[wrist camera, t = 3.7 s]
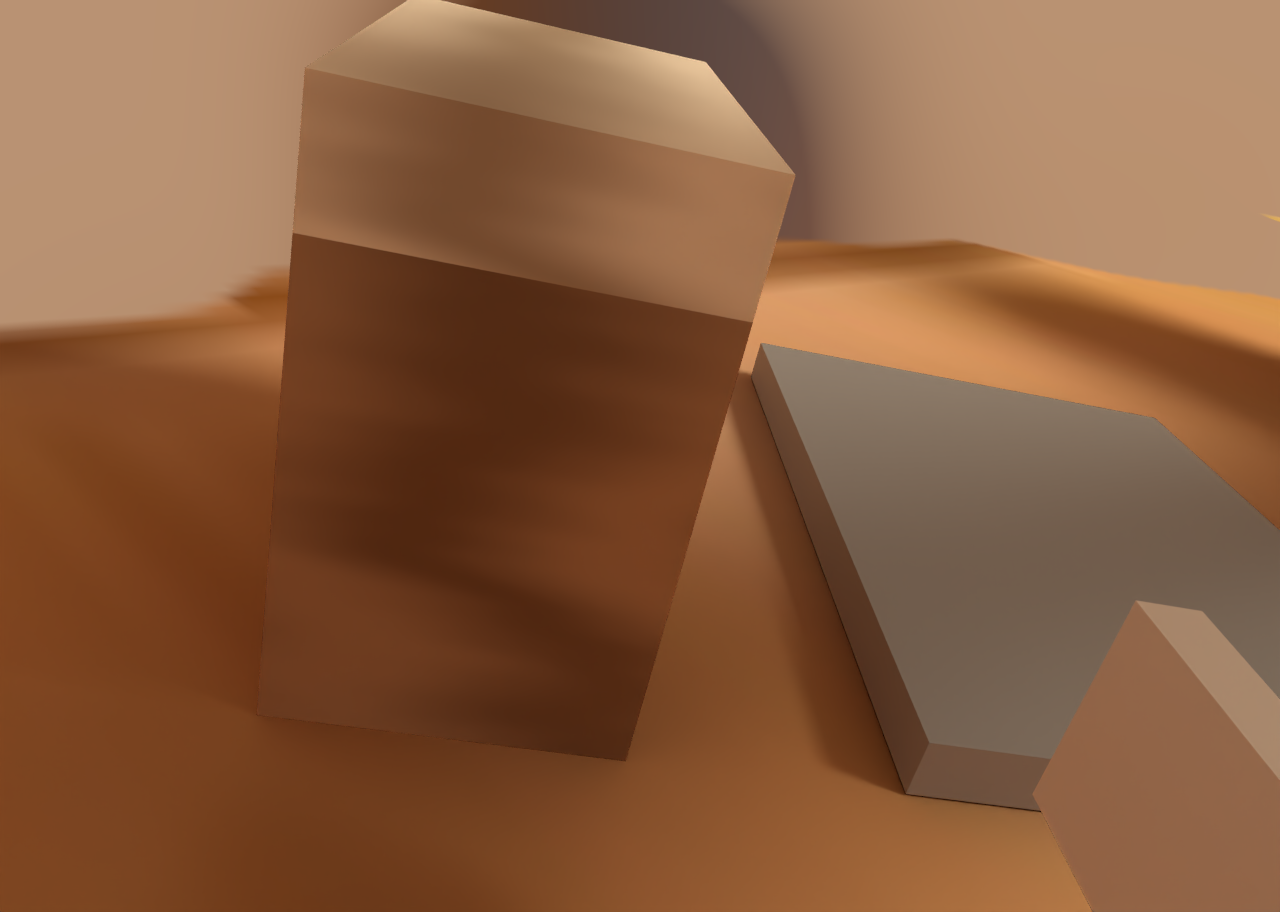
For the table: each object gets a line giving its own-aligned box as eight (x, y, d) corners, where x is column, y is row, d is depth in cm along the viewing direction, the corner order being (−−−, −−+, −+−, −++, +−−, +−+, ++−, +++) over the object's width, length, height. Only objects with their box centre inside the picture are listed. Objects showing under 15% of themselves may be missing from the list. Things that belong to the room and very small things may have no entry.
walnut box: (606, 473, 26) (705, 62, 22) (625, 763, 18) (795, 174, 13) (364, 432, 26) (416, -6, 21) (256, 716, 17) (304, 67, 12)
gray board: (1139, 448, 36) (1154, 418, 36) (1578, 878, 20) (1617, 834, 20) (751, 376, 34) (760, 343, 34) (905, 794, 18) (929, 742, 18)
